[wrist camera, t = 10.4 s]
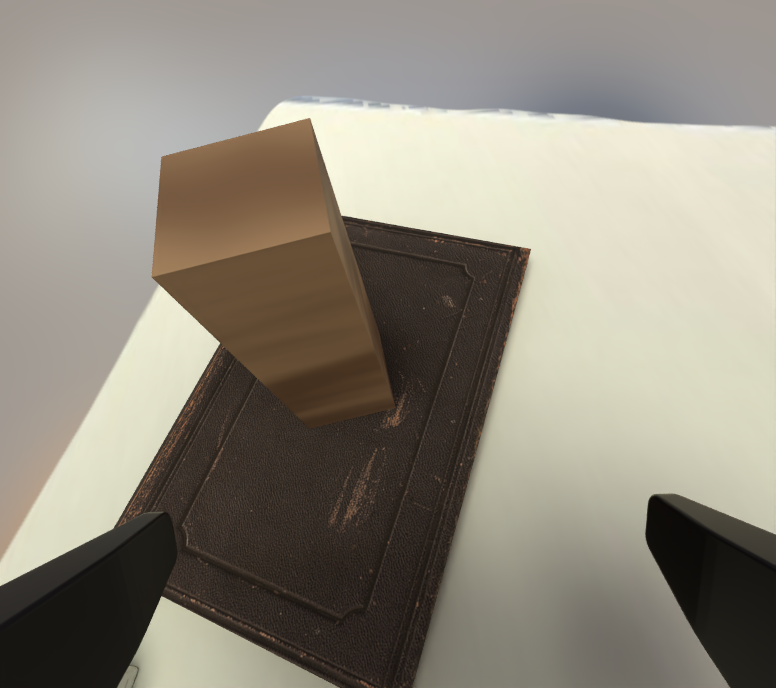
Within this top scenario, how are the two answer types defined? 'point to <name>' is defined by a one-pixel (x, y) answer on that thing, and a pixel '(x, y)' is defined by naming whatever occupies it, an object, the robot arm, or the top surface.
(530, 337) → the top surface
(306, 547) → the hardcover book
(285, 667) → the top surface
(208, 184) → the walnut block
